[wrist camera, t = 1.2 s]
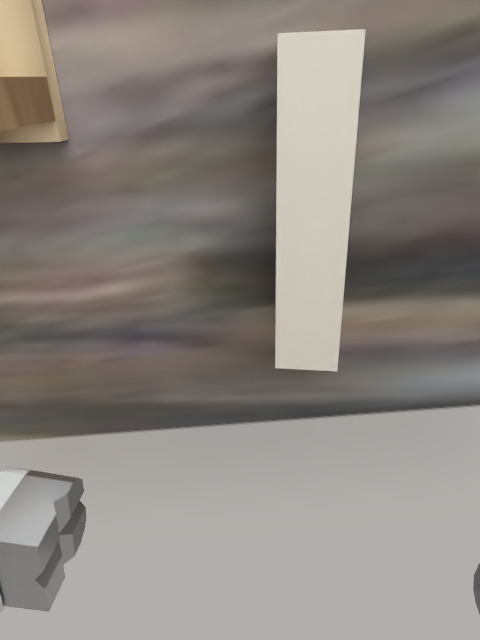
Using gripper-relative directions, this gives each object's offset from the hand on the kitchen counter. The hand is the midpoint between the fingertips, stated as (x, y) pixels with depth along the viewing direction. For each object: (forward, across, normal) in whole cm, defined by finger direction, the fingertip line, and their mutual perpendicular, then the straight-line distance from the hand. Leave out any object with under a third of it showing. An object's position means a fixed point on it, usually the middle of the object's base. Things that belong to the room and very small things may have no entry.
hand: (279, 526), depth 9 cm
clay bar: (+19, -1, -2) cm, 19 cm away
